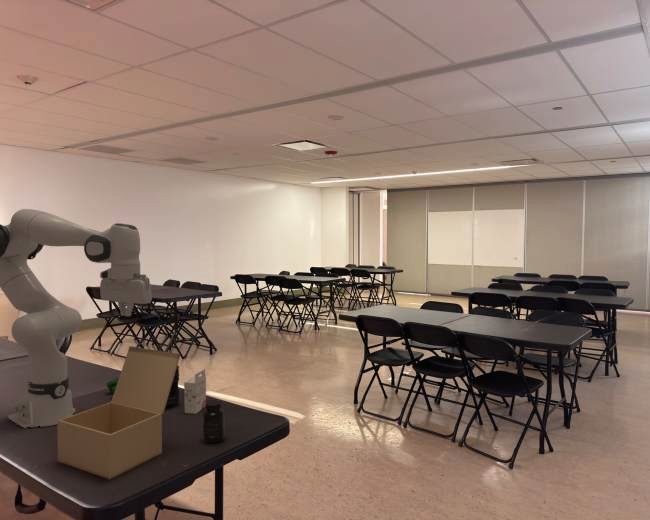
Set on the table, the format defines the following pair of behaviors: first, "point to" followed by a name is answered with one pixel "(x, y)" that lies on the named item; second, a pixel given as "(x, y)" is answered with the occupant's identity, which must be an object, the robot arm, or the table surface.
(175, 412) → the table surface
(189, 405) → the ink cartridge box
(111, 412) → the carton
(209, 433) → the supplement bottle
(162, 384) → the flap
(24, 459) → the table surface
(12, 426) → the table surface
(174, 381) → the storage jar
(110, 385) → the green bumpy lump
